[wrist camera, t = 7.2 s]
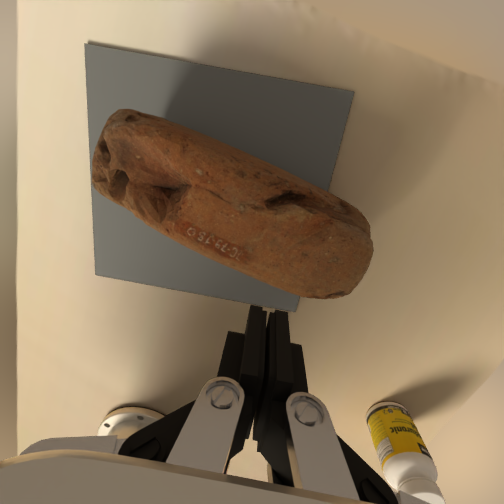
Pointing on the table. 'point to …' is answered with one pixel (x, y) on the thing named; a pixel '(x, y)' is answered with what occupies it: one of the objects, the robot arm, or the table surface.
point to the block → (232, 206)
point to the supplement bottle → (403, 452)
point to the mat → (218, 127)
